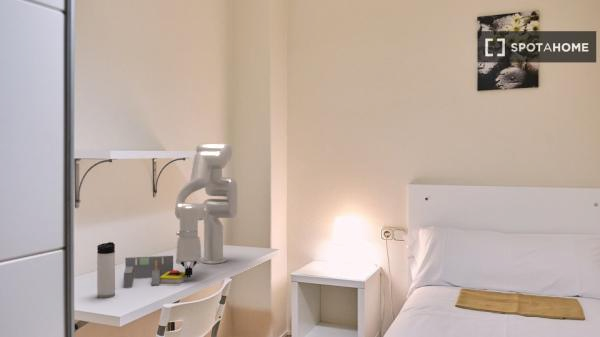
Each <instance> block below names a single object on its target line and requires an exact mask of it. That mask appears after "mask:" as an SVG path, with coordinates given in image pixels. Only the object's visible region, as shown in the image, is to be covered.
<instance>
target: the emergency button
mask: <svg viewBox="0 0 600 337" xmlns="http://www.w3.org/2000/svg"><path fill="white" fill-rule="evenodd" d="M189 278H190V277H188V278H187V275H185V271H181V270H174V269H173V271H168V272H167V273H165V274H164V275H162V276H161V277H160V281H159V285H158V286H162V287H163V286H165V287H166V286H168V287H169V286H170V287H179V286H180V285H181V283H182V284H183V283H184V282H186V281H187V280H188V279H189Z"/></svg>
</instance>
